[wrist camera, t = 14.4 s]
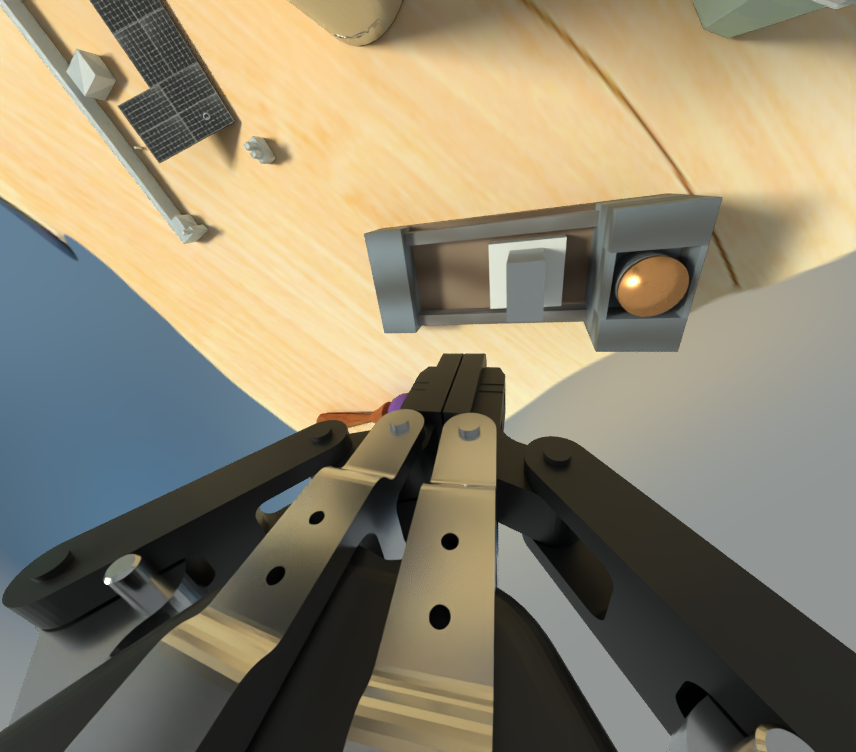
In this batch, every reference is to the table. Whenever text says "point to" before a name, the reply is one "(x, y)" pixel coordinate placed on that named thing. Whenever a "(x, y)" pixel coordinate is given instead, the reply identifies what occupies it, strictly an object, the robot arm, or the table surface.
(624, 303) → the button
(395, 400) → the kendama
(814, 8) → the disposable coffee cup
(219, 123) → the paper cutter
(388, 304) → the grey stepped base
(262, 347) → the table surface
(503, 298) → the carriage
